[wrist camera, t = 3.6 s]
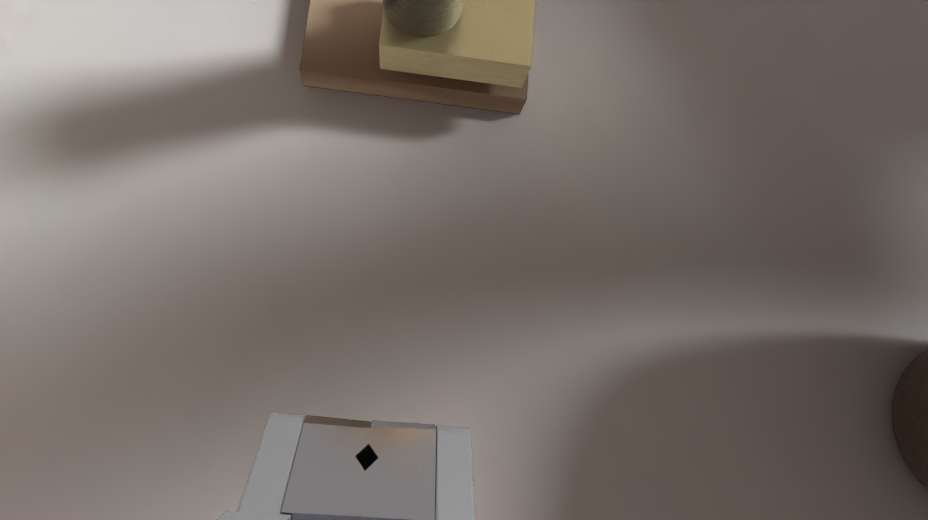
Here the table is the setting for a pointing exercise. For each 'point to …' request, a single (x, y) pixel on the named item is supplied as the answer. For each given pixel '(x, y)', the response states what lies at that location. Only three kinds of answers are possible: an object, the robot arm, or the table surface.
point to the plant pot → (913, 416)
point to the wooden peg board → (358, 63)
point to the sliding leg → (459, 39)
